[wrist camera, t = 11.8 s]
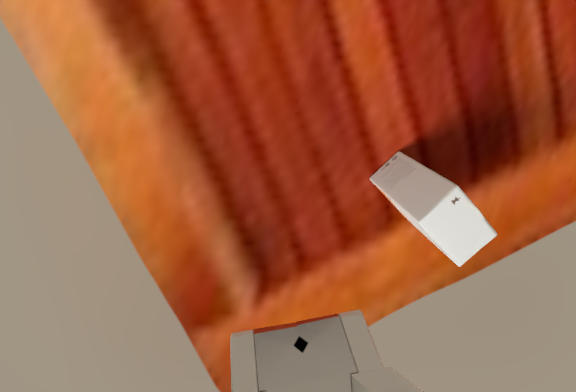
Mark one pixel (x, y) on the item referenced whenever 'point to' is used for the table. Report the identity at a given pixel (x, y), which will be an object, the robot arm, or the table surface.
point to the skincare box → (434, 207)
